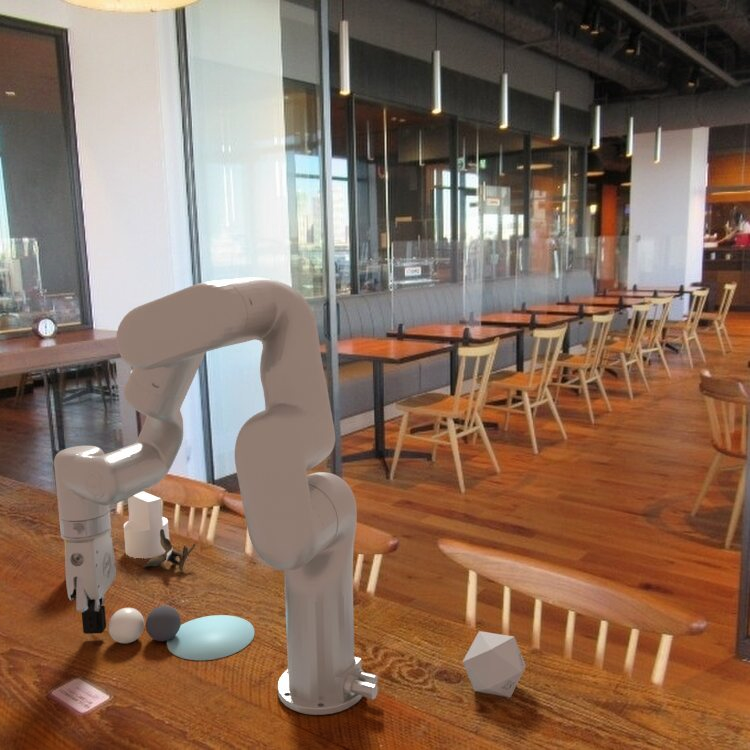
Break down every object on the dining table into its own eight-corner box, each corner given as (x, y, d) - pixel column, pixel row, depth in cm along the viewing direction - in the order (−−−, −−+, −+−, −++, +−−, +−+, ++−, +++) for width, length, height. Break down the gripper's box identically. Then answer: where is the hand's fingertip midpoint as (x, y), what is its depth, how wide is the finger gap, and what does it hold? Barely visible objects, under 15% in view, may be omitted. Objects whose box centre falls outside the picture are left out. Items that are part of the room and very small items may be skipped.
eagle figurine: (202, 554, 151) (165, 539, 154) (191, 533, 145) (154, 518, 149) (178, 587, 146) (140, 571, 149) (166, 567, 140) (128, 550, 144)
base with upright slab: (178, 549, 157) (174, 495, 155) (139, 562, 150) (135, 506, 148) (155, 538, 163) (152, 486, 161) (117, 550, 156) (113, 496, 154)
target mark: (271, 626, 123) (271, 625, 123) (217, 669, 111) (217, 667, 111) (206, 609, 130) (206, 608, 130) (148, 647, 117) (147, 646, 117)
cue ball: (100, 614, 120) (113, 643, 121) (105, 625, 115) (120, 655, 116) (132, 597, 122) (145, 625, 123) (139, 606, 117) (153, 636, 118)
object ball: (186, 637, 121) (189, 606, 120) (162, 651, 116) (165, 619, 115) (161, 626, 124) (163, 596, 123) (137, 640, 119) (139, 608, 118)
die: (494, 719, 99) (536, 662, 99) (444, 675, 102) (484, 619, 102) (503, 706, 107) (543, 653, 106) (456, 665, 110) (494, 613, 110)
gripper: (93, 541, 110) (103, 654, 113) (123, 507, 125) (131, 608, 128) (42, 543, 110) (54, 656, 113) (78, 508, 124) (87, 610, 127)
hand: (95, 630), depth 120 cm, fingers closed
